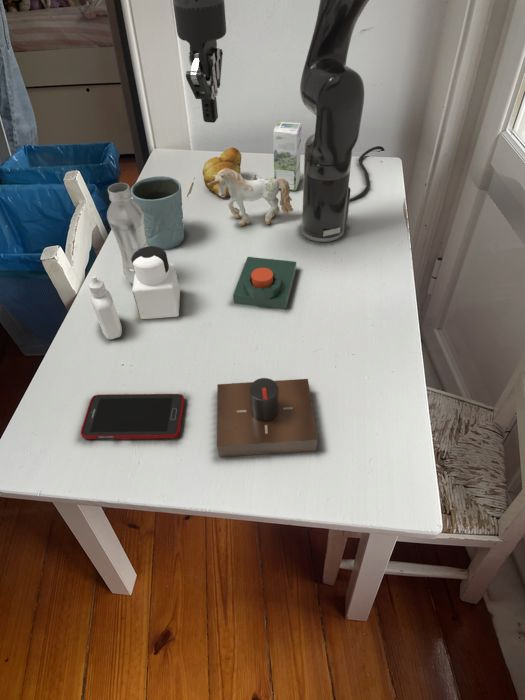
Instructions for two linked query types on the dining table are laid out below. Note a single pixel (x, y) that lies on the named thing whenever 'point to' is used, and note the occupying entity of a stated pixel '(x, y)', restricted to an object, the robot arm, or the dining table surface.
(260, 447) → the dial panel
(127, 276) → the plastic bottle
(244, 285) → the button housing
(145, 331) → the dining table surface
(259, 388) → the dial
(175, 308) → the medicine bottle
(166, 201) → the teal plant pot
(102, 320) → the eye dropper bottle
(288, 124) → the syrup box
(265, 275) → the button
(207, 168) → the bread roll
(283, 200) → the unicorn figurine
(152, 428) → the cell phone
